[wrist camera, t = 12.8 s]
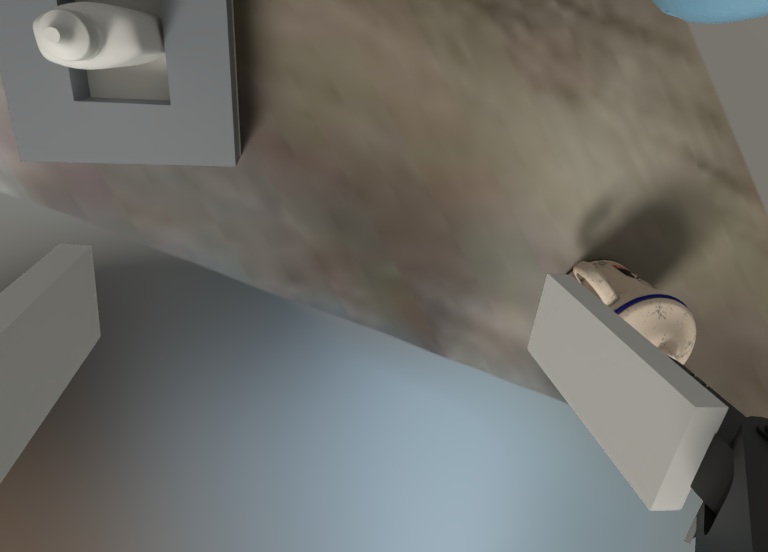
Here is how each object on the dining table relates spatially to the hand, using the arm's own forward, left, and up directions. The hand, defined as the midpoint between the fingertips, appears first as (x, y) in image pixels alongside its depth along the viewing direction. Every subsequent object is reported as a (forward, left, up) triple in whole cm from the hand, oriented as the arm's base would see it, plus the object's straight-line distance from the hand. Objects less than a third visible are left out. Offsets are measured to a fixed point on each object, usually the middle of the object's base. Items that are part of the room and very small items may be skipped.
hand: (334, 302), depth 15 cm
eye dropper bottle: (-7, -12, -28) cm, 31 cm away
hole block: (-7, -12, -28) cm, 32 cm away
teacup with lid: (+13, +27, -29) cm, 41 cm away
